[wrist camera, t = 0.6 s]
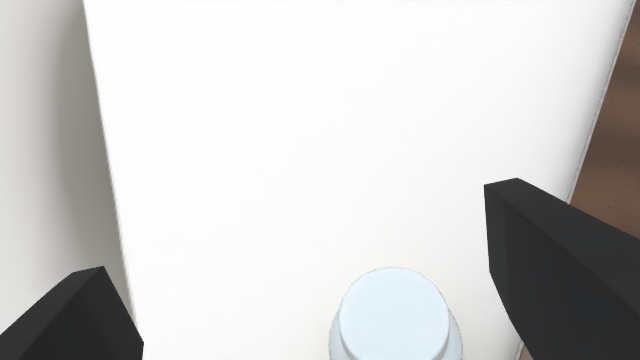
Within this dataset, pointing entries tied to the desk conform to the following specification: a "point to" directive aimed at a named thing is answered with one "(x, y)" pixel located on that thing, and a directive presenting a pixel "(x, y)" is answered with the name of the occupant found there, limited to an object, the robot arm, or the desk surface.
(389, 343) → the supplement bottle
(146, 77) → the desk surface
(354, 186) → the desk surface
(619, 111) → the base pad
